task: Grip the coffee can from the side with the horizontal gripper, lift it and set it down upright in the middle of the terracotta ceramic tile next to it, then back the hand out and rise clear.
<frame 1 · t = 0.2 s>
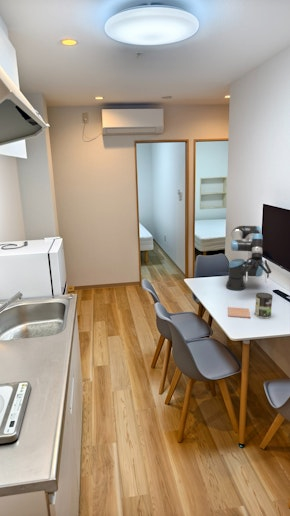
hand: (256, 281, 247), 15 cm above the table, tool tilted 35°, fingers open, 13 cm apart
terracotta tile: (238, 313, 232), on the table
coffee can: (262, 315, 228), on the table
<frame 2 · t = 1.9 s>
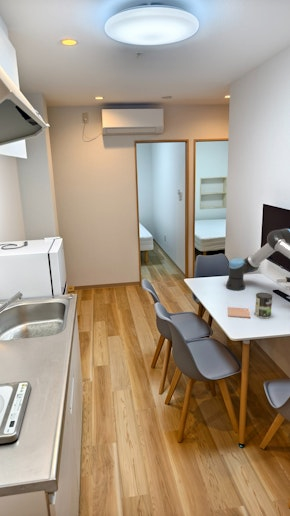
hand: (280, 283, 226), 21 cm above the table, tool horizontal, fingers open, 13 cm apart
nothing on the table moved.
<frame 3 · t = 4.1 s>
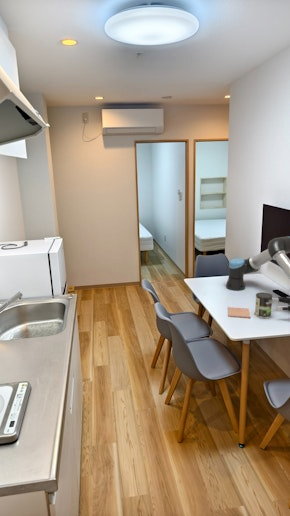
hand: (272, 304, 226), 8 cm above the table, tool horizontal, fingers open, 13 cm apart
nothing on the table moved.
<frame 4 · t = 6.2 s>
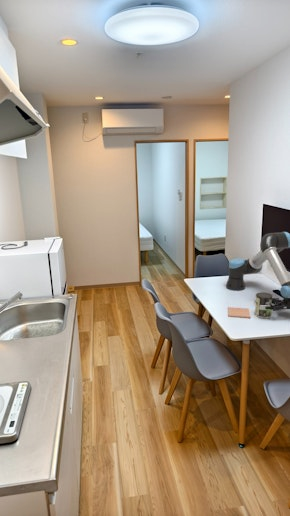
hand: (257, 304, 226), 8 cm above the table, tool horizontal, fingers closed on coffee can, 10 cm apart
coffee can: (262, 315, 228), on the table, touching gripper
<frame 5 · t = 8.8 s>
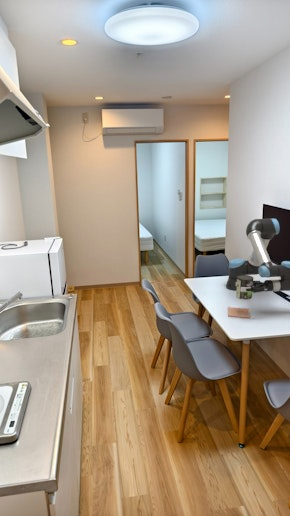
hand: (238, 286, 225), 19 cm above the table, tool horizontal, fingers closed on coffee can, 10 cm apart
coffee can: (244, 297, 228), point 12 cm above the table, touching gripper
when the fingers open (10 cm above the table, at t = 11.4 s): coffee can drops 1 cm, resting on terracotta tile.
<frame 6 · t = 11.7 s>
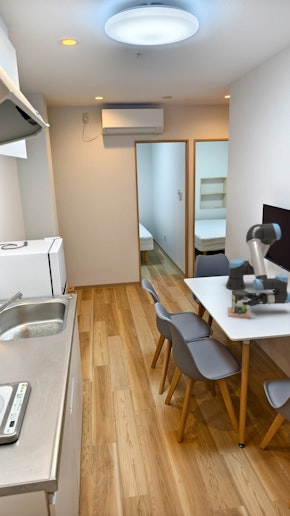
hand: (234, 299, 229), 10 cm above the table, tool horizontal, fingers open, 13 cm apart
coffee can: (238, 312, 231), point 1 cm above the table, touching terracotta tile
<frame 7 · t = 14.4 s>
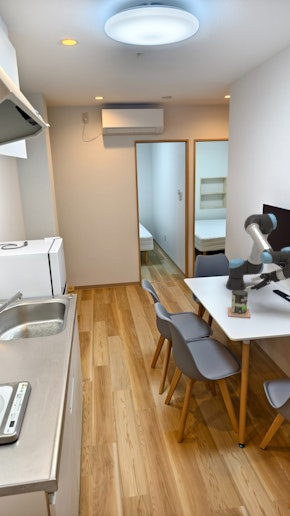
hand: (249, 284, 239), 16 cm above the table, tool tilted 60°, fingers open, 13 cm apart
nothing on the table moved.
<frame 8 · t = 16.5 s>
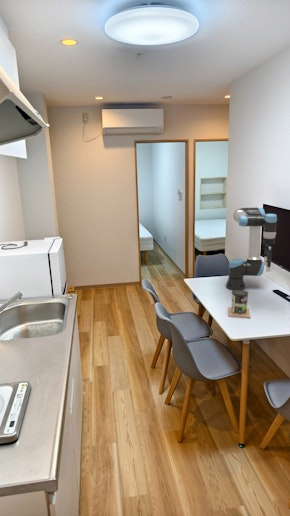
hand: (266, 268, 232), 29 cm above the table, tool pointing down, fingers open, 13 cm apart
nothing on the table moved.
at the end: coffee can 0.1 cm off-centre on the terracotta tile, point 0.8 cm above the terracotta tile's base; coffee can tilted 0°; the gripper is holding nothing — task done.
